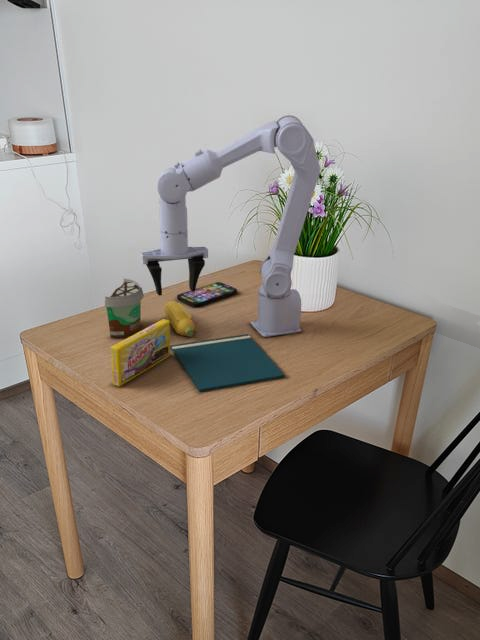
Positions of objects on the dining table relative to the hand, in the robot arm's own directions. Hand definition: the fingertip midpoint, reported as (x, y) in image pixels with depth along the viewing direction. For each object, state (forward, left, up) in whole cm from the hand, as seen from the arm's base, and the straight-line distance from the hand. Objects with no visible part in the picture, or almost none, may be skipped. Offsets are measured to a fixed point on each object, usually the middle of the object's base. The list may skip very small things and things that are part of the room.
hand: (175, 291), depth 140 cm
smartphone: (-13, -16, -9) cm, 22 cm away
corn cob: (-1, -1, -9) cm, 9 cm away
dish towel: (-5, +19, -9) cm, 22 cm away
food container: (+10, -2, -9) cm, 14 cm away
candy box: (+12, +17, -9) cm, 23 cm away
